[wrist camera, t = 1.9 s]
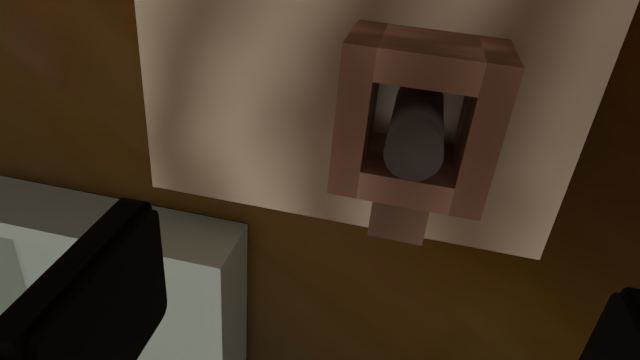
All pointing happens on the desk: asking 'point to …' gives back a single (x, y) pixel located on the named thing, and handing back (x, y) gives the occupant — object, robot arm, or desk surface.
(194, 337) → the tray
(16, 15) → the desk surface
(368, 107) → the tabbed ring
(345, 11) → the stake board
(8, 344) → the robot arm
